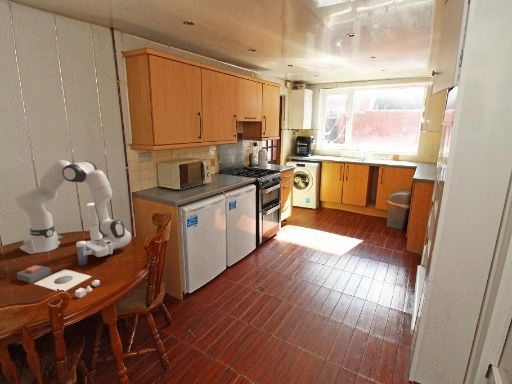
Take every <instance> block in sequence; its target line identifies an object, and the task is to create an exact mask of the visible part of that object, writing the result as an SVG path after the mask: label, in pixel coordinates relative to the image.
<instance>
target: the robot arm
mask: <svg viewBox="0 0 512 384" xmlns="http://www.w3.org/2000/svg"><path fill="white" fill-rule="evenodd" d="M67 181H68V182H71V183H83V182H85V183H86V184H87V185H88V187H89V191H90V193H91V196H92V199H93V203H94V205H95V209H96V213H97V217H98V221H99V226H98V228H99V232H100V233H101V234H102V236H104V237H102V238H101V239H99V240H91V239H90V240H85V241H86V251H84V252H82V255H84V256H85V255H87V256H89V255H93V256H95V257H97V258H100V257H105V256H108V255H112V254H113V251H114V250H115V249H119V248H122V247H124V246H127V245H129V243H130V242H131V240H132V234H131V232H130V231H128V230H127V229H126V227H125V224H124V222H123V221H122V220H120V219H111V218H110V215H109V212H108V208H107V205H108V202H109V201H110V200H111V198H112V197H113V190H112V188H111V187H112V186H111V185H110V184H111V183H110V182H109V180H108V178H107V175H106V173H105V172H104V171H103V170H101V169H97V166H96V164H95V163H94V162H91V161H87V160H85V161H78V162H74V163H73V162H72V163H71V162H70V161H68V160H66V159H60V160H58V161H56V162H55V163H54V164H52V165H51V167H50V168H48V169H47V170H46V172H45V173H44V174H43V175H42V176H41V178H40V179H39V185H38V186H37V187H36V188H33V189H29V190H25V191H24V192H22V193H20V194H18V195H17V197H16V199H15V204H16V206H17V207H19V209H21V210H23V211H24V212H25V213H26V214H27V216H28V219H29V223H30V228H29V229H28V230H29V234H28V235H27V236H26V237H25V238H24V239H23V245H21V246H20V247H19V249H20V250H21V251H23V252H26V253H27V254H30V255H31V254H32V255H33V254H36V253H37V254H38V253H39V254H40V253H45V252H50V251H53V250H55V249H57V248H59V247H60V244H61V241H59V239H58V238H57V234H58V233H57V232H56V231H55V230H56V229H55V225H54V223H53V216H52V214H51V212H49V211H47V210H46V208H45V206H46V205H48V204H51V203H52V202H54V201H55V200H57V197H58V195H59V193H58V191H59V190H60V189H61V188H62V187H63V185H64V184H65V183H66V182H67Z"/></svg>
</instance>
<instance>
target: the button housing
mask: <svg viewBox="0 0 512 384" xmlns="http://www.w3.org/2000/svg"><path fill="white" fill-rule="evenodd" d="M35 265H36V266H40V267H41V270H39V271H37V272H34V273H32V274H31V273H28V272H26V269H27V268H26V269H22V270H21V271H18V272H16V279H17V280H19V281H22V282H25V283H29V284H34V283H36V281H37V282H38V281H40V280H42V279H44V278H47V277H49V276H51V275H52V271H51V268H50V267H48V266H45V265H44V266H43V265H40V264H35Z"/></svg>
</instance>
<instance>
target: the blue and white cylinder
mask: <svg viewBox="0 0 512 384" xmlns="http://www.w3.org/2000/svg"><path fill="white" fill-rule="evenodd" d="M86 241H87V240H78V241H76V242H75V245H76V246H75V247H76V253H77V261H78V265H79V266H85V265H87V264H88V263H89V262H88V255H85V256H84V255H82V252H84V251H86Z"/></svg>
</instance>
